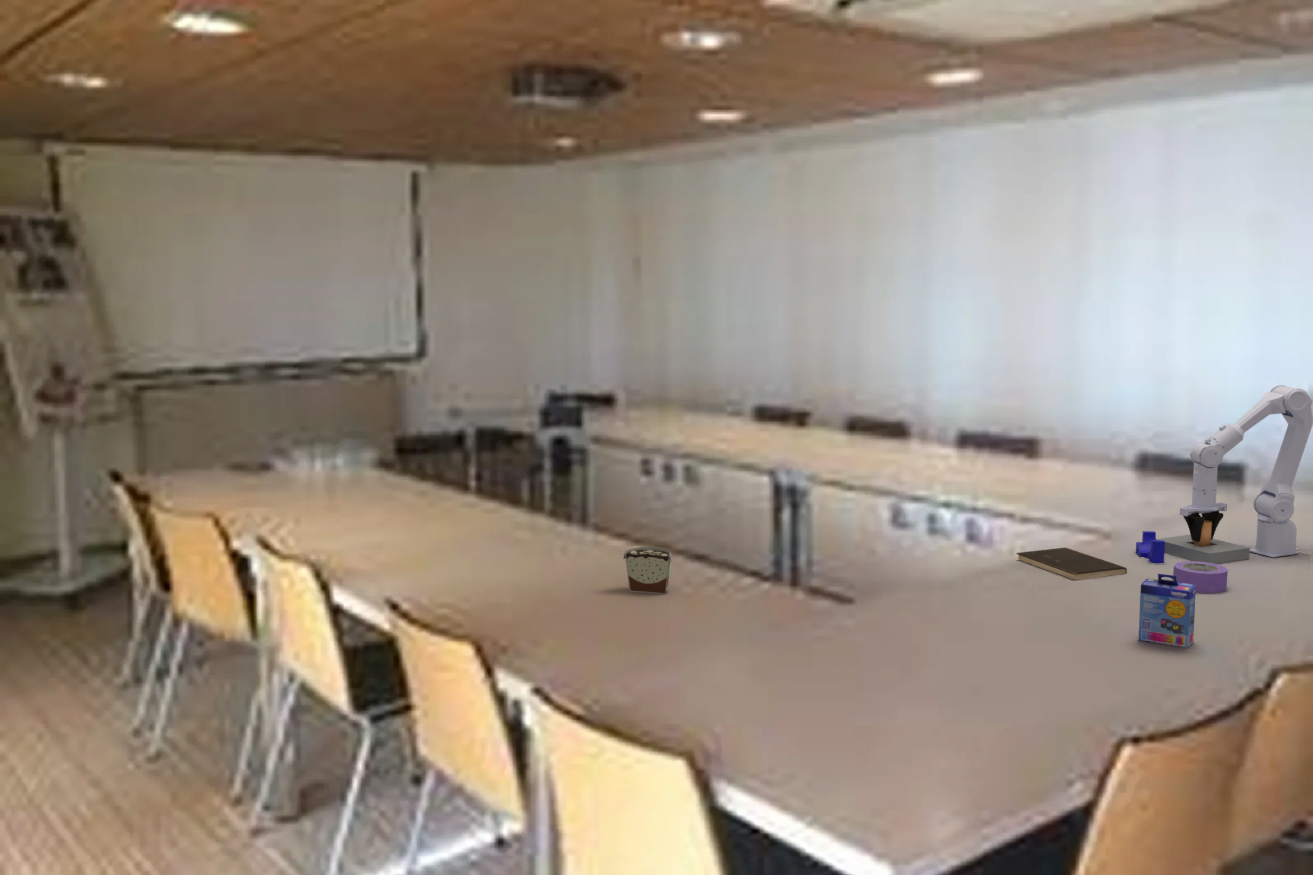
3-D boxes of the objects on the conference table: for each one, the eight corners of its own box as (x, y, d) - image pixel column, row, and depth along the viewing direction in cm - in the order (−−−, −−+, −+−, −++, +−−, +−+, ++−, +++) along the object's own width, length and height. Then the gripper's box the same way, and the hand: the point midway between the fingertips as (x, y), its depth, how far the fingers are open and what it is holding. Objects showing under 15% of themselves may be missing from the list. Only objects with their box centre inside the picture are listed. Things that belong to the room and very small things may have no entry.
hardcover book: (1073, 582, 299) (1074, 573, 299) (1016, 561, 321) (1016, 552, 320) (1126, 576, 304) (1127, 567, 304) (1066, 555, 326) (1067, 547, 325)
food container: (680, 588, 298) (679, 548, 296) (672, 594, 292) (671, 553, 291) (632, 584, 302) (631, 545, 300) (623, 591, 296) (622, 550, 295)
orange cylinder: (1201, 544, 324) (1203, 519, 323) (1213, 548, 321) (1215, 522, 320) (1190, 546, 323) (1191, 520, 322) (1201, 550, 319) (1203, 523, 318)
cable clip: (1135, 553, 326) (1136, 531, 325) (1153, 553, 325) (1154, 531, 324) (1145, 564, 314) (1146, 541, 313) (1163, 564, 313) (1164, 541, 313)
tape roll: (1226, 583, 294) (1227, 563, 294) (1226, 596, 284) (1227, 575, 283) (1173, 579, 299) (1174, 559, 299) (1171, 591, 289) (1172, 570, 288)
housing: (1194, 544, 333) (1194, 533, 333) (1249, 559, 317) (1249, 547, 316) (1154, 550, 328) (1155, 539, 327) (1208, 565, 311) (1209, 553, 311)
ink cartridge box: (1136, 641, 252) (1139, 572, 250) (1143, 634, 256) (1146, 566, 254) (1188, 649, 246) (1191, 579, 244) (1194, 641, 251) (1197, 573, 248)
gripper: (1195, 494, 313) (1193, 546, 315) (1237, 489, 319) (1234, 540, 321) (1174, 489, 320) (1172, 540, 322) (1215, 485, 325) (1213, 534, 327)
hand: (1202, 540), depth 322 cm, fingers closed on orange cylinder, 4 cm apart
